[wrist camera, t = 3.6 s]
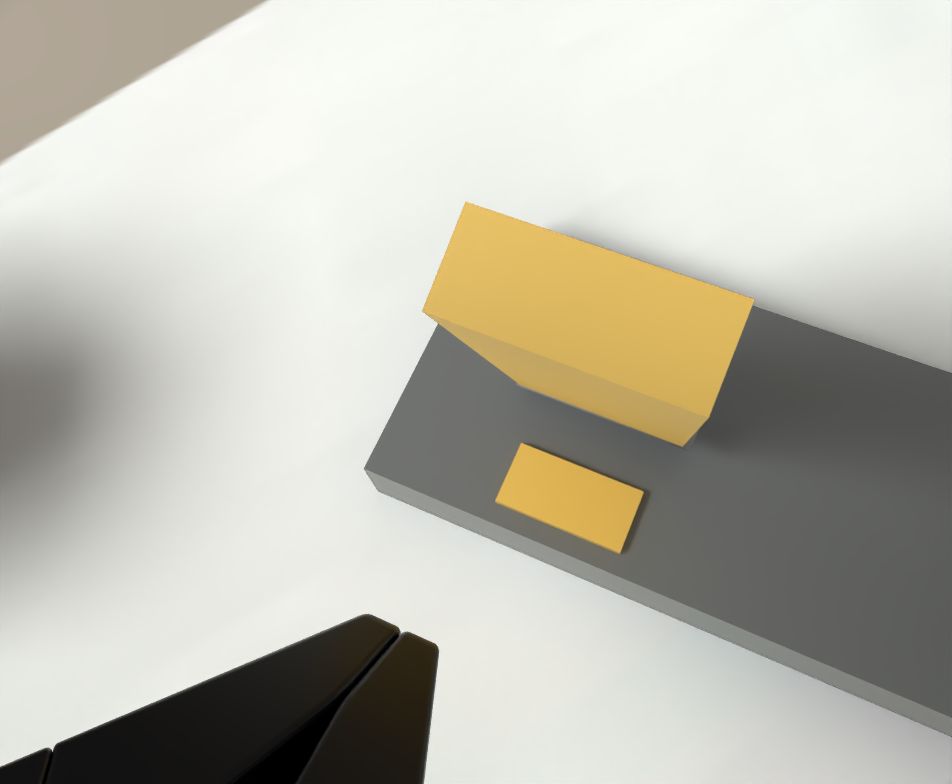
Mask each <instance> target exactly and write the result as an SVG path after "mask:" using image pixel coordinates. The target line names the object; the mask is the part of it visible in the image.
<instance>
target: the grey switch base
mask: <svg viewBox="0 0 952 784" xmlns="http://www.w3.org/2000/svg"><path fill="white" fill-rule="evenodd" d="M364 470H365V471H366V473H367V475H368V476H369V478H370V479H371V481H372V482H373V484H374V486H375V487H376V489H377V490H378V491H379V492H381V493H384V494H386V495H388V496H391V497H393V498H395V499H398V500H400V501H402V502H405V503H407V504H409V505H412V506H414V507H416V508H419V509H421V510H423V511H426V512H428V513H430V514H433V515H435V516H437V517H440V518H442V519H444V520H447V521H449V522H451V523H454V524H456V525H458V526H461V527H463V528H465V529H468V530H470V531H472V532H475V533H477V534H479V535H482V536H484V537H486V538H489V539H491V540H493V541H496V542H498V543H500V544H503V545H505V546H507V547H510V548H512V549H515V550H517V551H519V552H522V553H524V554H526V555H529V556H531V557H533V558H536V559H538V560H540V561H543V562H545V563H547V564H550V565H552V566H554V567H557V568H559V569H561V570H564V571H566V572H568V573H571V574H573V575H575V576H578V577H580V578H582V579H585V580H587V581H589V582H592V583H594V584H596V585H599V586H601V587H603V588H606V589H608V590H610V591H613V592H615V593H617V594H620V595H622V596H624V597H627V598H629V599H631V600H634V601H636V602H638V603H641V604H643V605H645V606H648V607H650V608H652V609H655V610H657V611H659V612H662V613H664V614H666V615H669V616H671V617H673V618H676V619H678V620H680V621H683V622H685V623H687V624H690V625H692V626H694V627H697V628H699V629H701V630H704V631H706V632H708V633H711V634H713V635H715V636H718V637H720V638H722V639H725V640H727V641H729V642H732V643H734V644H736V645H739V646H741V647H743V648H746V649H748V650H750V651H753V652H755V653H757V654H760V655H762V656H764V657H767V658H769V659H771V660H774V661H776V662H778V663H781V664H783V665H785V666H788V667H790V668H792V669H795V670H797V671H799V672H802V673H804V674H806V675H809V676H811V677H813V678H816V679H818V680H820V681H823V682H825V683H827V684H830V685H832V686H834V687H837V688H839V689H841V690H844V691H846V692H848V693H851V694H853V695H855V696H858V697H860V698H862V699H865V700H867V701H869V702H872V703H874V704H876V705H879V706H881V707H883V708H886V709H888V710H890V711H893V712H895V713H897V714H900V715H902V716H904V717H907V718H909V719H911V720H914V721H916V722H918V723H921V724H923V725H925V726H928V727H930V728H932V729H935V730H937V731H939V732H942V733H944V734H946V735H949V736H951V737H952V373H949V372H946V371H943V370H940V369H937V368H934V367H931V366H929V365H926V364H923V363H920V362H917V361H914V360H911V359H908V358H905V357H902V356H899V355H896V354H893V353H890V352H887V351H884V350H881V349H878V348H875V347H873V346H870V345H867V344H864V343H861V342H858V341H855V340H852V339H849V338H846V337H843V336H840V335H837V334H834V333H831V332H828V331H825V330H822V329H819V328H817V327H814V326H811V325H808V324H805V323H802V322H799V321H796V320H793V319H790V318H787V317H784V316H781V315H778V314H775V313H772V312H769V311H766V310H763V309H761V308H758V307H755V306H752V308H751V310H750V313H749V315H748V318H747V321H746V323H745V326H744V328H743V331H742V333H741V336H740V339H739V341H738V344H737V346H736V349H735V351H734V354H733V357H732V359H731V362H730V364H729V367H728V369H727V372H726V375H725V377H724V380H723V382H722V385H721V387H720V390H719V393H718V395H717V398H716V400H715V403H714V406H713V408H712V411H711V413H710V416H709V418H708V419H707V420H706V421H705V423H704V424H703V425H702V426H701V427H700V428H699V431H698V433H697V436H696V438H695V440H694V443H693V445H692V447H691V449H690V451H687V450H684V449H682V448H679V447H677V446H674V445H671V444H669V443H666V442H664V441H661V440H658V439H656V438H653V437H651V436H648V435H645V434H643V433H640V432H637V431H635V430H632V429H630V428H627V427H624V426H622V425H619V424H617V423H614V422H611V421H609V420H606V419H604V418H601V417H598V416H596V415H593V414H590V413H588V412H585V411H583V410H580V409H577V408H575V407H572V406H570V405H567V404H564V403H562V402H559V401H557V400H554V399H551V398H549V397H546V396H543V395H541V394H538V393H536V392H533V391H530V390H528V389H525V388H523V387H520V386H517V385H516V381H514V380H513V379H512V378H510V377H509V376H508V375H506V374H505V373H504V372H502V371H501V370H500V369H498V368H497V367H496V366H494V365H493V364H492V363H490V362H489V361H488V360H486V359H485V358H484V357H482V356H481V355H480V354H478V353H477V352H476V351H474V350H473V349H472V348H470V347H469V346H468V345H466V344H465V343H464V342H462V341H461V340H460V339H458V338H457V337H456V336H454V335H453V334H452V333H450V332H449V331H448V330H446V329H445V328H444V327H442V326H441V325H440V324H438V325H437V327H436V329H435V331H434V333H433V335H432V337H431V339H430V341H429V343H428V344H427V346H426V348H425V350H424V352H423V354H422V356H421V358H420V360H419V362H418V364H417V366H416V368H415V370H414V372H413V374H412V376H411V378H410V380H409V382H408V383H407V385H406V387H405V389H404V391H403V393H402V395H401V397H400V399H399V401H398V403H397V405H396V407H395V409H394V411H393V413H392V415H391V417H390V419H389V421H388V423H387V424H386V426H385V428H384V430H383V432H382V434H381V436H380V438H379V440H378V442H377V444H376V446H375V448H374V450H373V452H372V454H371V456H370V458H369V460H368V462H367V463H366V465H365V467H364Z"/></svg>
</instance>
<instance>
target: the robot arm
mask: <svg viewBox="0 0 952 784" xmlns="http://www.w3.org/2000/svg"><path fill="white" fill-rule="evenodd" d="M438 657H439V649H438V646H437V645H436V644H435V643H432V642H430V641H428V640H426V639H424V638H421V637H419V636H417V635H415V634H413V633H410V632H403V633H401V632H400V630H399V628H398V627H397V626H395V625H393V624H391V623H388V622H386V621H384V620H382V619H380V618H377V617H375V616H373V615H370V614H363V615H360V616H357V617H355V618H353V619H350V620H348V621H346V622H343V623H341V624H339V625H336V626H334V627H331V628H329V629H327V630H324V631H322V632H320V633H317V634H315V635H312V636H310V637H308V638H305V639H303V640H301V641H298V642H296V643H293V644H291V645H289V646H286V647H284V648H282V649H279V650H277V651H275V652H272V653H270V654H267V655H265V656H263V657H260V658H258V659H256V660H253V661H251V662H248V663H246V664H244V665H241V666H239V667H237V668H234V669H232V670H230V671H227V672H225V673H222V674H220V675H218V676H215V677H213V678H211V679H208V680H206V681H203V682H201V683H199V684H196V685H194V686H192V687H189V688H187V689H185V690H182V691H180V692H177V693H175V694H173V695H170V696H168V697H166V698H163V699H161V700H158V701H156V702H154V703H151V704H149V705H147V706H144V707H142V708H139V709H137V710H135V711H132V712H130V713H128V714H125V715H123V716H121V717H118V718H116V719H113V720H111V721H109V722H106V723H104V724H102V725H99V726H97V727H94V728H92V729H90V730H87V731H85V732H83V733H80V734H78V735H76V736H73V737H71V738H68V739H66V740H64V741H61V742H59V743H57V744H56V745H55V747H54V749H53V752H52V750H51V749H50V748H44V749H42V750H39V751H37V752H34V753H32V754H30V755H27V756H25V757H23V758H20V759H18V760H15V761H13V762H11V763H8V764H6V765H3V766H1V767H0V784H424V778H425V769H426V761H427V752H428V743H429V735H430V726H431V717H432V709H433V700H434V692H435V683H436V674H437V666H438Z"/></svg>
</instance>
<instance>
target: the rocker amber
mask: <svg viewBox="0 0 952 784" xmlns="http://www.w3.org/2000/svg"><path fill="white" fill-rule="evenodd" d="M754 300H755V299H753V298H750V297H747V296H744V295H741V294H738V293H735V292H732V291H729V290H726V289H723V288H720V287H717V286H714V285H711V284H708V283H705V282H702V281H699V280H696V279H693V278H690V277H687V276H684V275H681V274H678V273H675V272H672V271H670V270H667V269H664V268H661V267H658V266H655V265H652V264H649V263H646V262H643V261H640V260H637V259H634V258H631V257H628V256H625V255H622V254H619V253H616V252H613V251H610V250H607V249H604V248H601V247H598V246H595V245H592V244H589V243H587V242H584V241H581V240H578V239H575V238H572V237H569V236H566V235H563V234H560V233H557V232H554V231H551V230H548V229H545V228H542V227H539V226H536V225H533V224H530V223H527V222H524V221H521V220H518V219H515V218H512V217H509V216H507V215H504V214H501V213H498V212H495V211H492V210H489V209H486V208H483V207H480V206H477V205H474V204H471V203H468V202H465V204H464V207H463V210H462V212H461V215H460V217H459V220H458V222H457V225H456V227H455V230H454V232H453V235H452V237H451V240H450V242H449V245H448V247H447V250H446V252H445V255H444V257H443V260H442V262H441V265H440V267H439V270H438V272H437V275H436V277H435V280H434V282H433V285H432V287H431V290H430V292H429V295H428V297H427V300H426V303H425V305H424V308H423V310H422V312H424V313H425V314H426V315H428V316H429V317H430V318H432V319H433V320H434V321H436V322H437V323H438V324H440V325H441V326H442V327H444V328H445V329H446V330H448V331H449V332H450V333H452V334H453V335H454V336H456V337H457V338H458V339H460V340H461V341H462V342H464V343H465V344H466V345H468V346H469V347H470V348H472V349H473V350H474V351H476V352H477V353H478V354H480V355H481V356H482V357H484V358H485V359H486V360H488V361H489V362H490V363H492V364H493V365H494V366H496V367H497V368H498V369H500V370H501V371H502V372H504V373H505V374H506V375H508V376H509V377H510V378H512V379H513V380H514V381H516V385H517V386H520V387H523V388H525V389H528V390H530V391H533V392H536V393H538V394H541V395H543V396H546V397H549V398H551V399H554V400H557V401H559V402H562V403H564V404H567V405H570V406H572V407H575V408H577V409H580V410H583V411H585V412H588V413H590V414H593V415H596V416H598V417H601V418H604V419H606V420H609V421H611V422H614V423H617V424H619V425H622V426H624V427H627V428H630V429H632V430H635V431H637V432H640V433H643V434H645V435H648V436H651V437H653V438H656V439H658V440H661V441H664V442H666V443H669V444H671V445H674V446H677V447H679V448H682V449H684V450H687V451H690V449H691V447H692V445H693V443H694V440H695V438H696V436H697V433H698V431H699V428H700V427H701V426H702V425H703V424H704V423H705V421H706V420H707V419H708V418H709V416H710V413H711V411H712V408H713V406H714V403H715V400H716V398H717V395H718V393H719V390H720V387H721V385H722V382H723V380H724V377H725V375H726V372H727V369H728V367H729V364H730V362H731V359H732V357H733V354H734V351H735V349H736V346H737V344H738V341H739V339H740V336H741V333H742V331H743V328H744V326H745V323H746V321H747V318H748V315H749V313H750V310H751V308H752V305H753V302H754Z"/></svg>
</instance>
